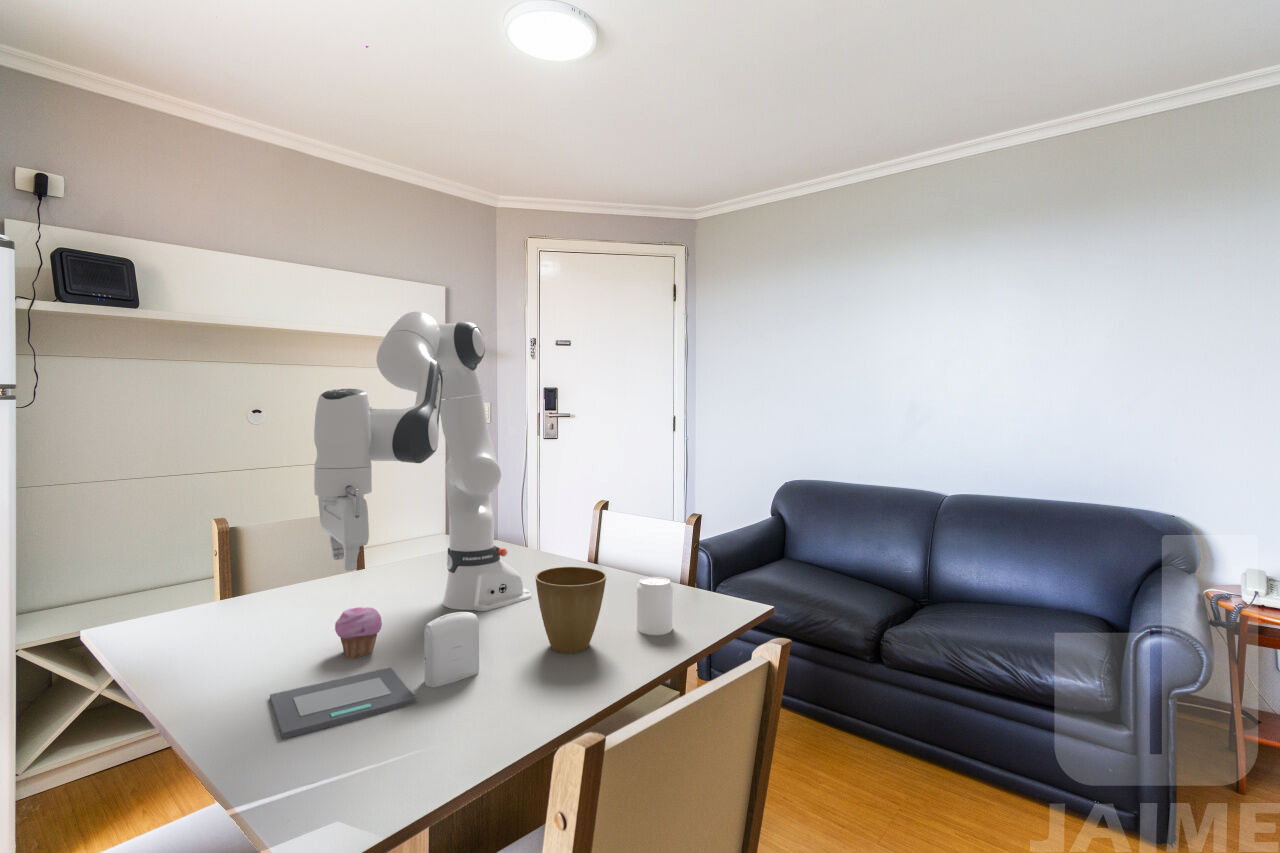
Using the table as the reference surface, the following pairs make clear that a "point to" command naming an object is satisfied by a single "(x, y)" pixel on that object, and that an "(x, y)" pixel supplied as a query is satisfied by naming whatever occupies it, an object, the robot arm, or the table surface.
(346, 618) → the cupcake
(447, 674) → the photo printer
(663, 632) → the beverage can
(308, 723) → the charging mat
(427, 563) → the table surface
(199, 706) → the table surface
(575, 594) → the plant pot
